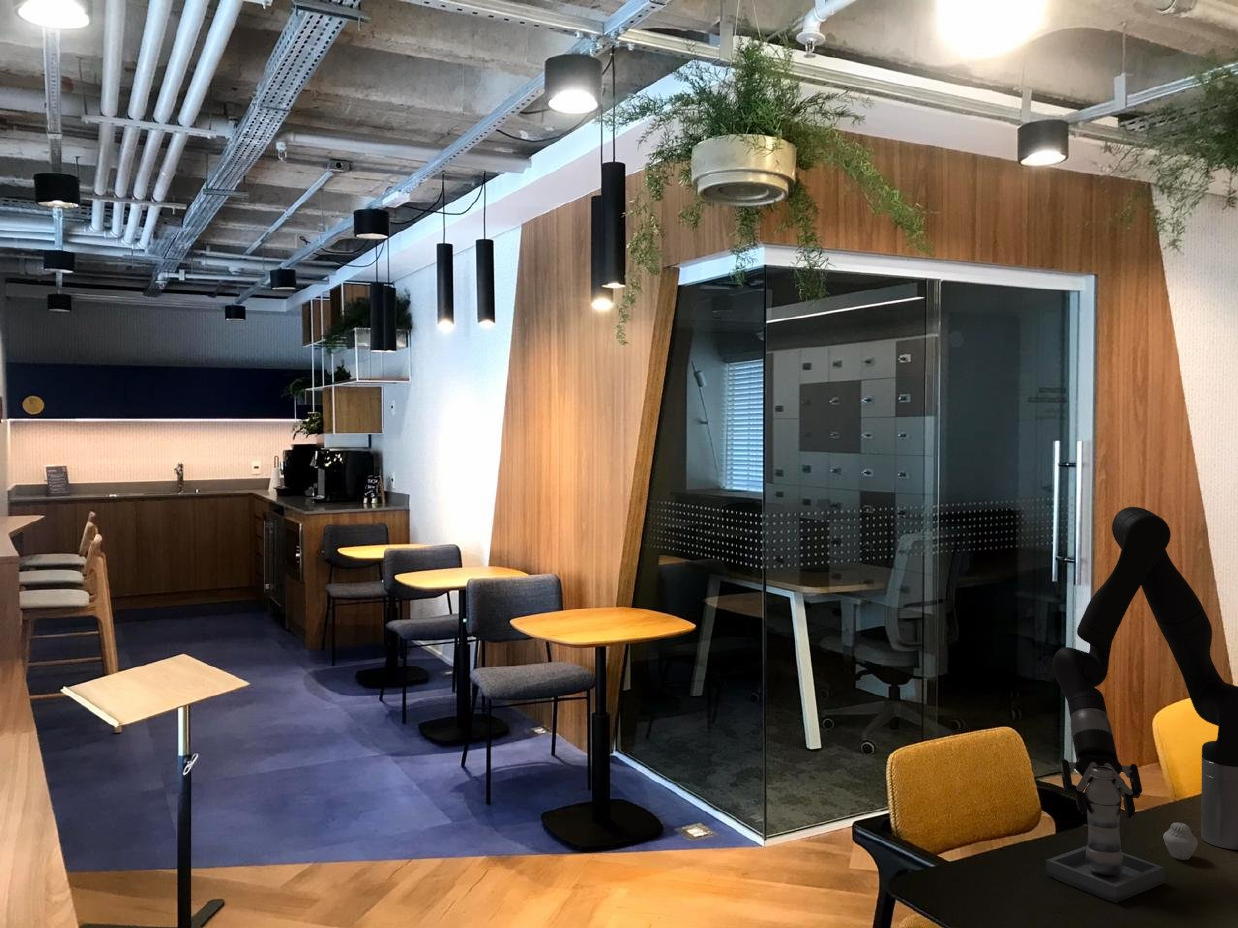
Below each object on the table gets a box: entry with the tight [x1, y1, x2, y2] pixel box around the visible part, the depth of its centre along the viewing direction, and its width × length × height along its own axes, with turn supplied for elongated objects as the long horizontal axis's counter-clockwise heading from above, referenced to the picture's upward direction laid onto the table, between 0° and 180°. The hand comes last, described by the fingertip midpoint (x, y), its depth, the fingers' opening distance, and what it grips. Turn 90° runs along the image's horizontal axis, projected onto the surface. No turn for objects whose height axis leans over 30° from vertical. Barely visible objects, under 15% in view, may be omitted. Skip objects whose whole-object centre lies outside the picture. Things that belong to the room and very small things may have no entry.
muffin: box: [1162, 822, 1199, 861], centre depth 200 cm, size 6×6×7 cm
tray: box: [1045, 845, 1165, 904], centre depth 189 cm, size 16×14×3 cm
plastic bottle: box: [1083, 766, 1124, 875], centre depth 189 cm, size 6×7×20 cm
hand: (1107, 814), depth 187 cm, fingers open, 7 cm apart
